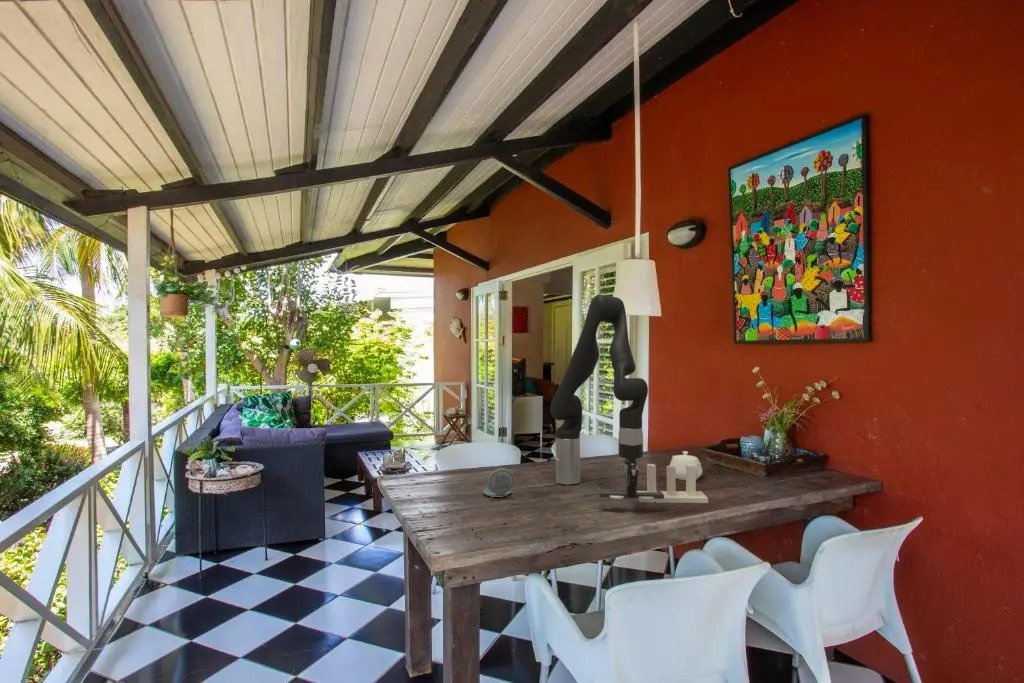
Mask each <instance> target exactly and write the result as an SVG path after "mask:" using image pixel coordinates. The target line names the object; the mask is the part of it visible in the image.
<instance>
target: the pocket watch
mask: <svg viewBox="0 0 1024 683" xmlns="http://www.w3.org/2000/svg"><path fill="white" fill-rule="evenodd" d="M515 481H516V477H515V474H514V473H513V472H512V471H511V470H510V469H508V468H505V467H504V468H497V469H495V470H494V471H492V472H491V473H490V474H489V476H488V478H487V481H486V482H487V483H486V484H487V487H485V488H484V489H483V491H482V494H483V495H484V494H485V495H484V496H486V495H489V496H505V495H508V494H510V493H511V494H512V489H513V488H514V486H515ZM511 494H510V495H511ZM508 496H509V495H508Z"/></svg>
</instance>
